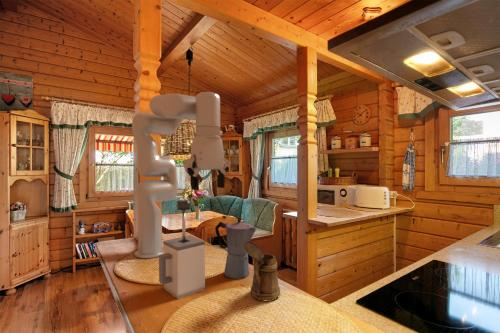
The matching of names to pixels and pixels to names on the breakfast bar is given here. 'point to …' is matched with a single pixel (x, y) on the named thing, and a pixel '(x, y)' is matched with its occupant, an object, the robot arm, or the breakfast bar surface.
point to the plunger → (183, 215)
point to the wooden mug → (263, 273)
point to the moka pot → (236, 247)
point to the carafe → (182, 266)
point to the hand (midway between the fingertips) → (208, 188)
